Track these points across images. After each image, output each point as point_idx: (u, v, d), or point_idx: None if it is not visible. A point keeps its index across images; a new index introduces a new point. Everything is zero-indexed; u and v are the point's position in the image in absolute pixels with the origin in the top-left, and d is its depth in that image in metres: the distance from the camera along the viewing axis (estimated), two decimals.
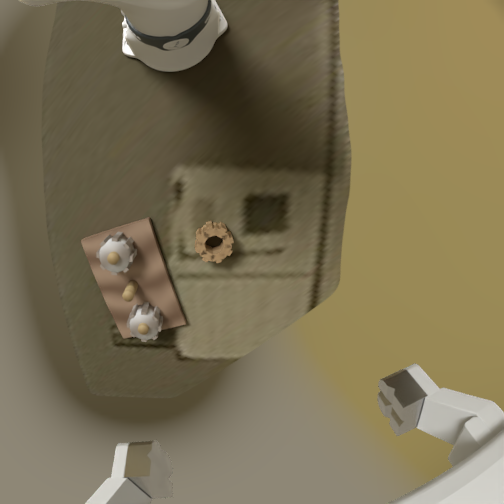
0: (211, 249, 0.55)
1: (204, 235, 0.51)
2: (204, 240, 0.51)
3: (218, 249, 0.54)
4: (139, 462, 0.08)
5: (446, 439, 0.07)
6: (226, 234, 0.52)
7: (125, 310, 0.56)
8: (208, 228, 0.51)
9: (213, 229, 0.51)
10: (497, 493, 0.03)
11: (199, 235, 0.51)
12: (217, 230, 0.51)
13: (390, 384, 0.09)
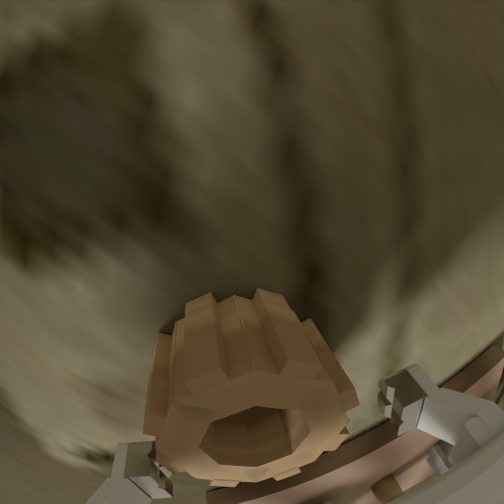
0: None
1: (213, 473, 0.08)
2: (238, 469, 0.08)
3: None
4: (139, 462, 0.08)
5: (446, 439, 0.07)
6: (176, 410, 0.07)
7: None
8: (173, 468, 0.08)
9: (170, 455, 0.08)
10: (497, 493, 0.03)
11: (218, 482, 0.09)
12: (168, 444, 0.07)
13: (390, 384, 0.09)
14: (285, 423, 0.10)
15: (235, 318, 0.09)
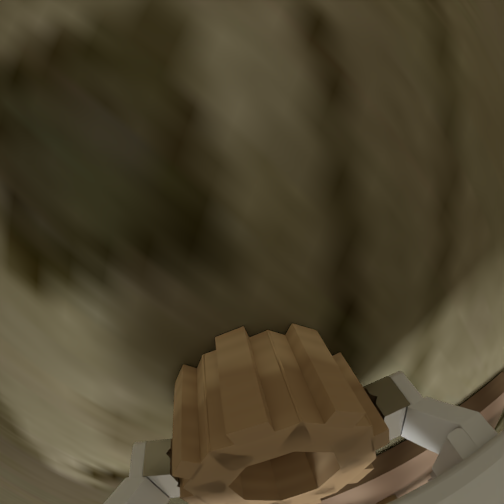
0: None
1: None
2: (262, 503, 0.08)
3: None
4: (158, 460, 0.08)
5: (431, 448, 0.07)
6: (212, 457, 0.06)
7: None
8: (197, 503, 0.07)
9: (197, 493, 0.07)
10: (497, 493, 0.03)
11: None
12: (197, 485, 0.07)
13: (373, 392, 0.09)
14: (310, 457, 0.09)
15: (272, 358, 0.09)
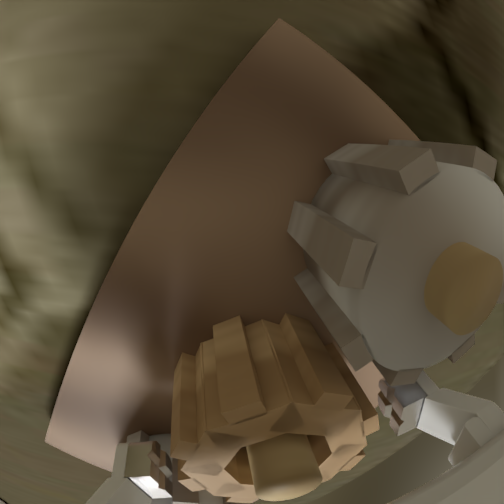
0: None
1: (232, 491, 0.08)
2: None
3: None
4: (139, 462, 0.08)
5: (446, 439, 0.07)
6: (208, 437, 0.07)
7: None
8: (194, 487, 0.08)
9: (194, 476, 0.08)
10: (497, 493, 0.03)
11: (235, 499, 0.08)
12: (194, 467, 0.07)
13: None
14: None
15: (266, 345, 0.09)
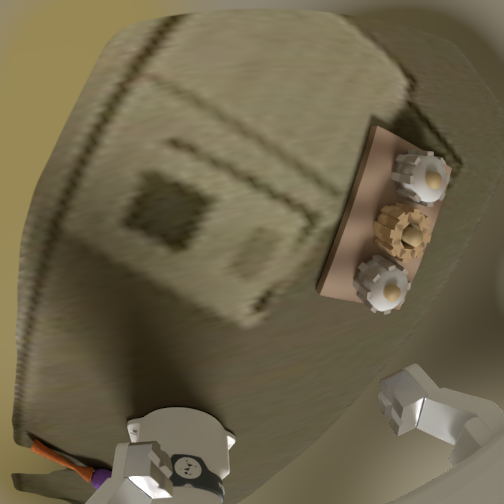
0: None
1: (403, 254, 0.33)
2: (408, 251, 0.33)
3: None
4: (139, 462, 0.08)
5: (446, 439, 0.07)
6: (396, 227, 0.32)
7: None
8: (394, 253, 0.33)
9: (394, 246, 0.33)
10: (497, 493, 0.03)
11: (404, 260, 0.34)
12: (394, 241, 0.33)
13: (390, 384, 0.09)
14: None
15: (396, 208, 0.34)
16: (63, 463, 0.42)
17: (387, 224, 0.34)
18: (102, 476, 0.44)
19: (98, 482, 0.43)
